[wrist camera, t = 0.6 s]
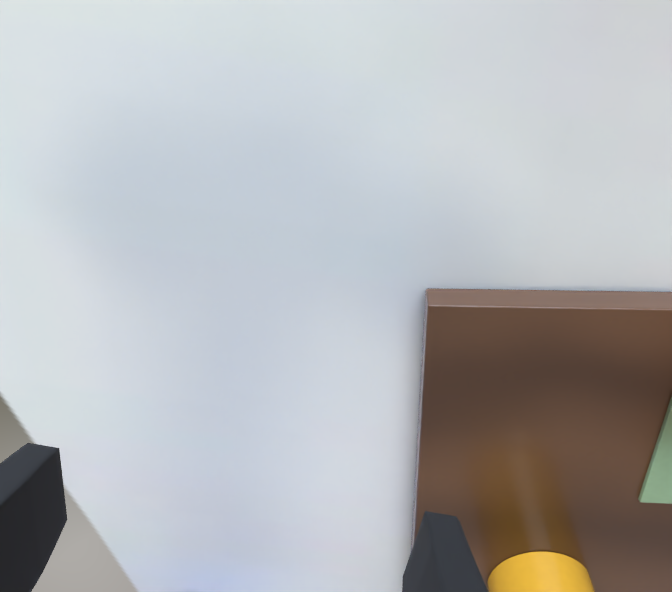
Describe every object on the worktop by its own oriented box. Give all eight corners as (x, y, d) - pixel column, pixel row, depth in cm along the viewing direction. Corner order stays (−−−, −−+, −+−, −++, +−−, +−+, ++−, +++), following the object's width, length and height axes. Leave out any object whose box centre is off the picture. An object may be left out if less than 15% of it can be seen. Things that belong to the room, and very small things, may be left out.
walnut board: (742, 674, 29) (757, 704, 28) (405, 651, 31) (405, 680, 30) (958, 295, 19) (998, 317, 17) (425, 287, 20) (428, 308, 19)
